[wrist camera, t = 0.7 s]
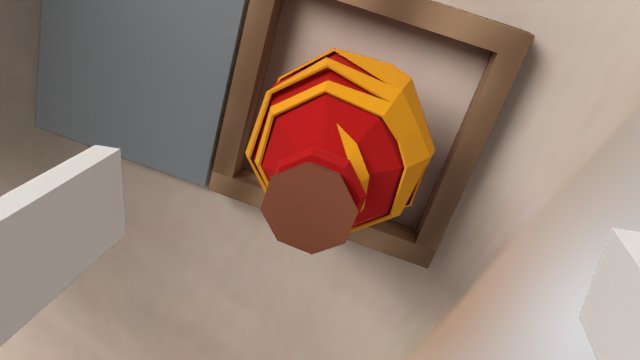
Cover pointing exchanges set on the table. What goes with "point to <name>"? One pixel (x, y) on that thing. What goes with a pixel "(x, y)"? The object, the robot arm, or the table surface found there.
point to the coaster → (139, 77)
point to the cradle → (421, 244)
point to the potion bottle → (338, 149)
